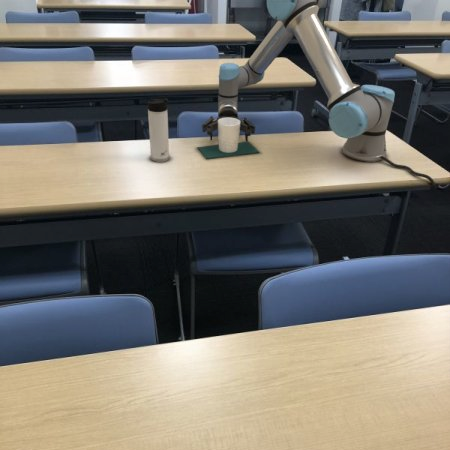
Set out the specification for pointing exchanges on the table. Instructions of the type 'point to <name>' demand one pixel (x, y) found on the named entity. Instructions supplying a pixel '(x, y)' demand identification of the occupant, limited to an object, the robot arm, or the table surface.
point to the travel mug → (158, 129)
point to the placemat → (214, 152)
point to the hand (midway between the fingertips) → (229, 137)
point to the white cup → (228, 134)
